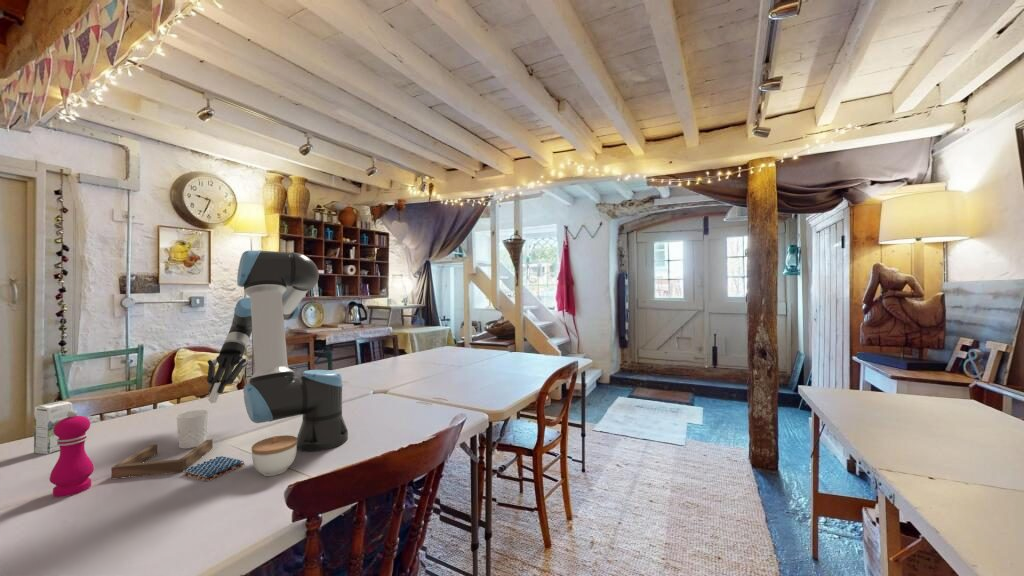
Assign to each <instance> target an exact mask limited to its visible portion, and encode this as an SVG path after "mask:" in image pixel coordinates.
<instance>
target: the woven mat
mask: <svg viewBox="0 0 1024 576" xmlns="http://www.w3.org/2000/svg"><path fill="white" fill-rule="evenodd" d="M245 466H246V464H245V462H244V460H242V459H238V458H237V459H236V458H234V457H233V458H231V457H229V456H224V455H221V456H216V457H215V458H213V459H212V458H211V459H209V461H206V460H205V461H203V463H198V464H197V465H195V466H192V465H191V466H190V467H189V468H187V469H184V471H183V474H182V476H185V477H188V478H193V479H194V480H200V481H203V482H209V481H211V480H212V481H213V480H214V479H216V478H219V477H222V476H223V475H226V474H228V473H230V472H232V471H235V470H237V469H240V468H242V467H245Z"/></svg>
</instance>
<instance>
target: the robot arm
mask: <svg viewBox="0 0 1024 576" xmlns="http://www.w3.org/2000/svg"><path fill="white" fill-rule="evenodd" d="M319 273H320V272H319V269H318V266H317V265H316V263H315V262H314V261H313V260H312V259H310V257H308V256H306V255H304V254H302V253H299V252H292V251H291V252H289V251H288V252H286V251H272V250H271V251H269V250H268V251H267V250H261V249H257V250H245V251H244V252H243V253H242V254H241V256H240V260H239V264H238V270H237V276H236V278H237V279H236V282H237V287H240V288H243V293H244V294H245V295H247V297H242V298H240V299H239V300H237V302H236V304H235V307H234V312H233V318H232V320H231V321H232V322H231V326H230V328H229V330H228V333H227V336H226V338H225V340H224V342H223V344H222V346H221V349H220V351H219V354H218V356H217V357H216V358H215V359H212V360H211V359H208V360H207V364H208V368H207V369H208V371H207V378H206V382H207V383H208V384H209V386H210V387H209V390H208V392H209V393H210V394H209V396H208V398H207V400H208V401H209V403H210V404H217V402H218V399H219V397H220V394H222V393H223V392H224V390H225V388H226V386H227V385H232V384H233V383H234V382H235V380H236V379H237V378H238V376H239V375H240V373H241V372H242V370H243V369H244V368H245V367H246V366H247V365H248V364H249V363H248V361H247V358H243V356H244V354H245V352H246V348H247V346H248V343H249V340H250V337H251V336H252V342H253V343H252V344H253V347H252V348H253V357H254V358H253V359H254V372H253V374H252V375H251V376H250V377H249V383H247V384H245V385H244V386H243V390H242V391H243V401H244V407H245V410H246V413H247V415H248V418H249V419H250V421H251V422H253V423H254V424H262V423H268V422H273V421H278V420H282V419H283V420H284V419H288V418H292V417H297V416H301V415H302V422H301V424H300V427H299V431H298V433H297V436H296V438H297V449H299V450H300V451H305V452H316V451H317V452H318V451H323V450H329V449H332V448H336V447H337V446H340V445H343V444H344V443H346V441H348V439H349V430H348V428H347V425H346V422H345V419H344V416H343V377H342V374H341V373H340V372H338V371H335V370H332V369H331V370H330V369H310V370H309V369H308V370H304V371H303V372H302V373H301V376H298V377H295V371H294V370H293V369H291V368H290V367H289V365H288V355H287V354H288V351H287V342H286V341H287V340H286V339H287V338H286V331H285V330H286V329H285V321H289V320H296V319H297V318H299V315H300V306H299V304H301V301H302V300H303V299H304V298H305V296H306V294H307V293H308V291H311V290H313V289H314V288H315V286H316V284H317V283H318V281H319V278H320V274H319ZM217 364H218V367H217V370H216V366H217Z"/></svg>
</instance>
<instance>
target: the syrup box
mask: <svg viewBox="0 0 1024 576" xmlns="http://www.w3.org/2000/svg"><path fill="white" fill-rule="evenodd" d="M72 410H73V403H72V402H69V401H66V400H65V401H64V400H63V401H62V400H61V401H59V400H58V401H54V402H50V403H45V404H40V405H37V406H34V415H33V416H34V418H33V419H34V421H33V425H34V426H33V429H34V431H33V435H34V436H33V453H34V454H41V455H42V454H43V455H49V454H52V453H56V452H60V446H58V445H57V439H59V437H57V436H56V435H55V434H54V427H55V425H56V424H57V423H58V422H59V421H60V420H62V419H65V418H67V413H68V412H69V411H72Z"/></svg>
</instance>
